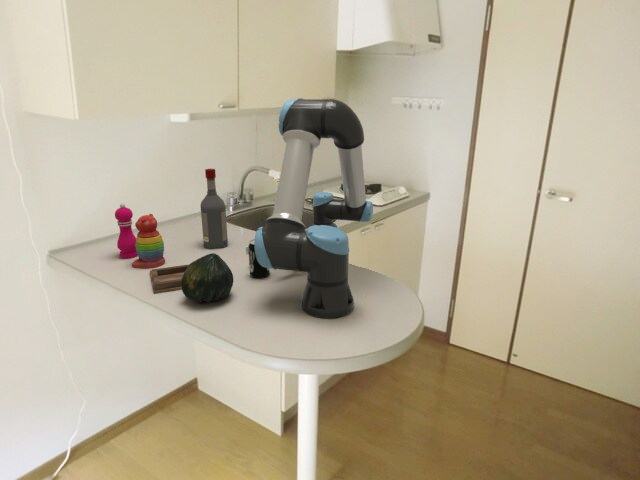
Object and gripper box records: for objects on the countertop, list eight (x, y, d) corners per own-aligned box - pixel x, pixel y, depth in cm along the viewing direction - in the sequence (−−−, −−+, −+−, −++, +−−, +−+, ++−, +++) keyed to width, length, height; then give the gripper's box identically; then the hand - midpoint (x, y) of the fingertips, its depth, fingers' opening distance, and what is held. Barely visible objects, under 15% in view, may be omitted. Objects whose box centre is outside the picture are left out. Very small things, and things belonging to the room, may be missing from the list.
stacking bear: (148, 256, 180) (142, 210, 174) (172, 259, 177) (167, 212, 171) (129, 267, 170) (122, 218, 164) (154, 270, 167) (148, 220, 161)
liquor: (226, 240, 197) (221, 166, 187) (228, 247, 189) (223, 171, 179) (203, 242, 195) (197, 167, 185) (204, 249, 187) (198, 172, 177)
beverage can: (266, 279, 160) (264, 245, 156) (247, 278, 161) (245, 243, 157) (272, 272, 166) (270, 238, 162) (253, 270, 167) (252, 237, 163)
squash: (167, 279, 146) (184, 251, 137) (209, 267, 157) (227, 241, 147) (189, 319, 142) (207, 293, 133) (230, 304, 153) (250, 279, 143)
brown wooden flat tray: (206, 285, 155) (206, 277, 154) (154, 293, 149) (153, 285, 148) (197, 266, 171) (197, 258, 170) (150, 272, 165) (149, 265, 164)
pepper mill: (122, 260, 176) (115, 207, 169) (116, 255, 181) (108, 203, 175) (142, 256, 180) (135, 203, 174) (135, 251, 185) (128, 200, 179)
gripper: (330, 258, 169) (285, 275, 155) (281, 242, 185) (236, 256, 171) (330, 237, 167) (284, 253, 152) (280, 223, 183) (235, 236, 168)
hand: (259, 255), depth 161 cm, fingers open, 13 cm apart
